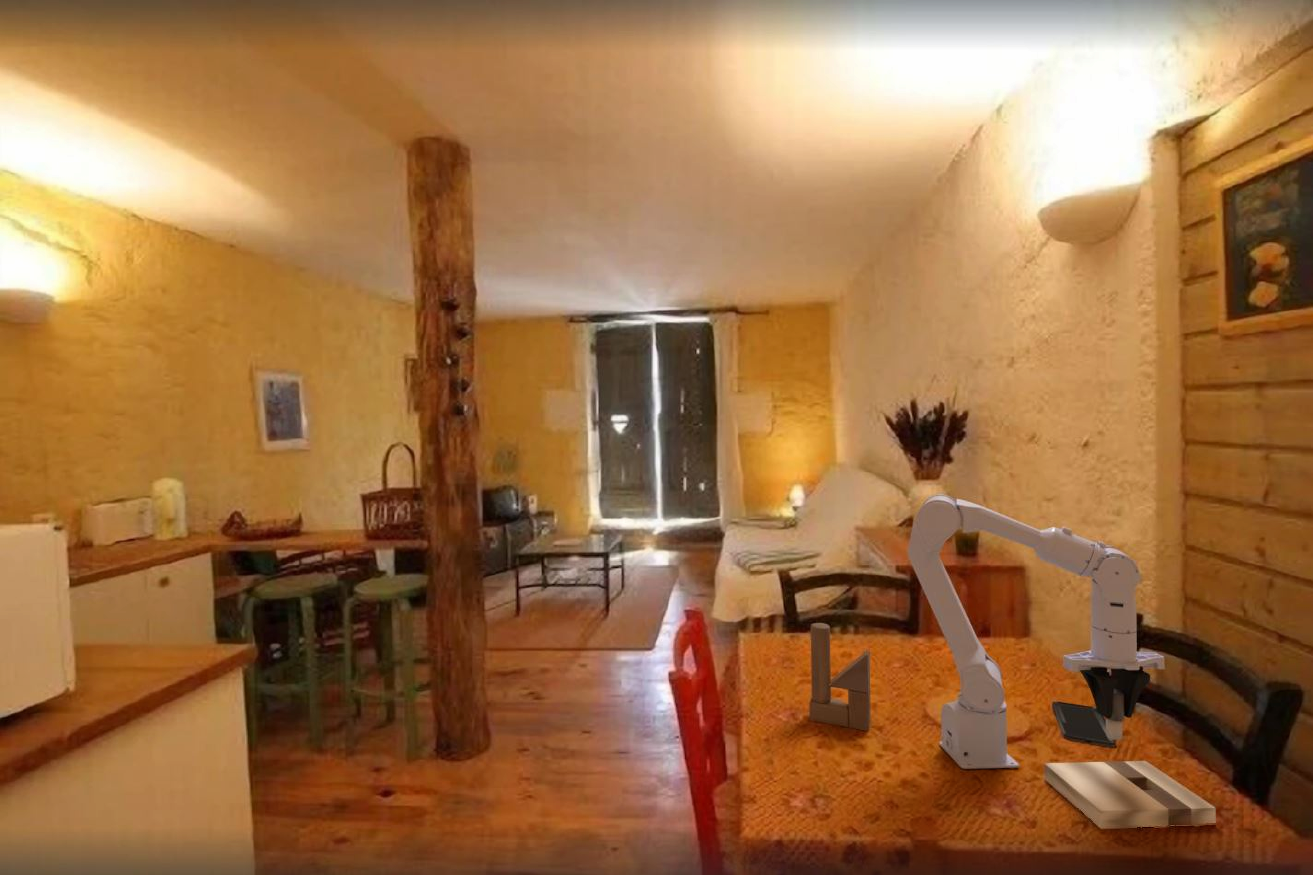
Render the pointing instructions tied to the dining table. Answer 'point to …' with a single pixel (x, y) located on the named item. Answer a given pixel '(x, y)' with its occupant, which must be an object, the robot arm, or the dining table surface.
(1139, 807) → the board
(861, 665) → the wooden block
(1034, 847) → the dining table surface
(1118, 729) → the grey cylinder
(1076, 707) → the phone
